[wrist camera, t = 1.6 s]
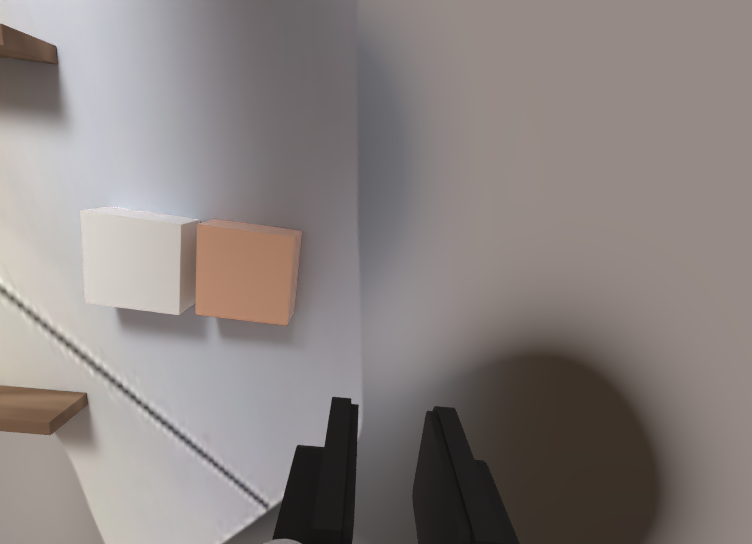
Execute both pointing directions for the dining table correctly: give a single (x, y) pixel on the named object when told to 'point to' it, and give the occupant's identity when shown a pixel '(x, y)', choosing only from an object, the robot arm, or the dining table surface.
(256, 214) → the dining table surface
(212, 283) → the terracotta tile
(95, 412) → the dining table surface
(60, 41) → the dining table surface
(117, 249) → the white square tile
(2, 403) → the frame
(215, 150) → the dining table surface
